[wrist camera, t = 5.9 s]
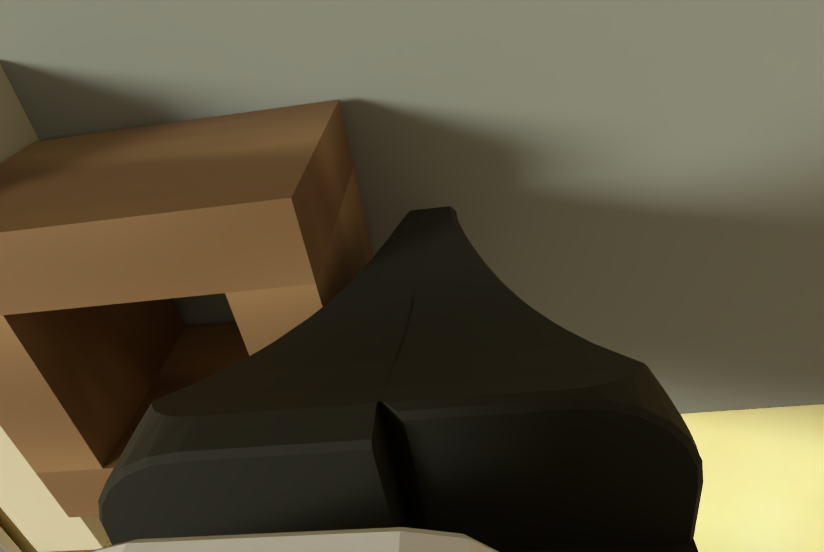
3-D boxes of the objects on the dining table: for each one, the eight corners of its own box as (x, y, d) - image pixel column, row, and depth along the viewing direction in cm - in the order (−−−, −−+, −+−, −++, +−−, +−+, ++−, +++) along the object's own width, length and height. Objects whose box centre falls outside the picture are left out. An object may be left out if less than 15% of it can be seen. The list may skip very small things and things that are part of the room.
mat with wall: (847, 390, 15) (978, 556, 11) (150, 438, 17) (70, 590, 13) (1054, -233, 8) (1525, -318, 5) (-109, -22, 11) (-400, 30, 7)
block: (394, 353, 14) (378, 501, 11) (154, 373, 15) (68, 517, 11) (339, 99, 11) (290, 197, 7) (35, 141, 12) (-133, 248, 8)
